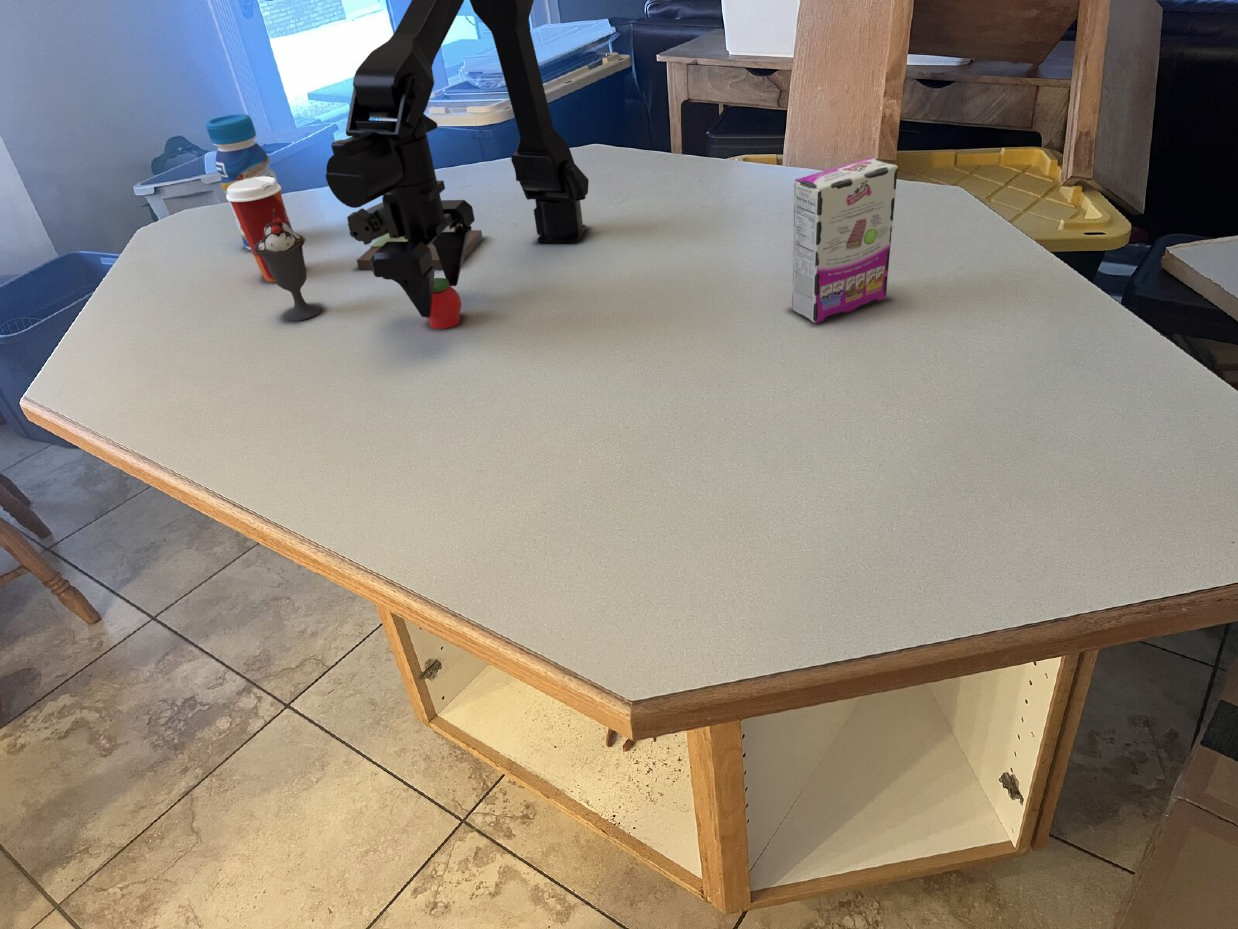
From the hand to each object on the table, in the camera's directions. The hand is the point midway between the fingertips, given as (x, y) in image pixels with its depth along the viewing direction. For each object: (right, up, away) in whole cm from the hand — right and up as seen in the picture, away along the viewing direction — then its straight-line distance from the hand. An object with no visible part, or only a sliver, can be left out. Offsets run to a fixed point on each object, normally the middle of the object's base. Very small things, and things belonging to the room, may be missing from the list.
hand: (440, 300), depth 106 cm
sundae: (-21, 0, +8) cm, 22 cm away
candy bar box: (+50, -2, -4) cm, 50 cm away
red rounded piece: (0, -2, +2) cm, 3 cm away
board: (-8, +12, +23) cm, 27 cm away
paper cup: (-29, +8, +21) cm, 36 cm away
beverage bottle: (-36, +16, +33) cm, 51 cm away
